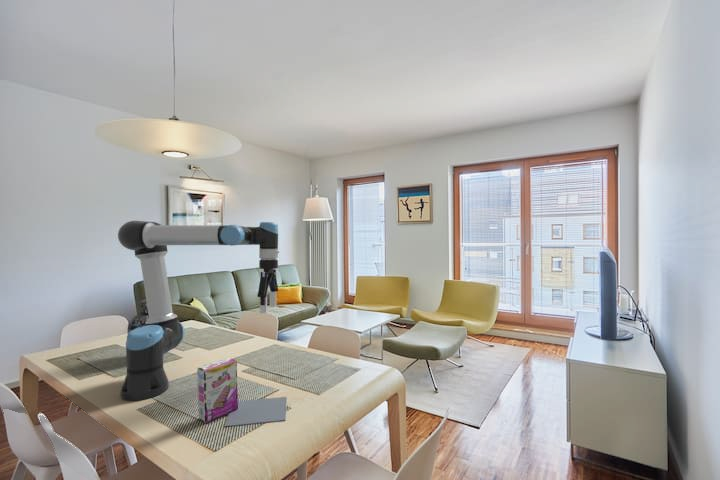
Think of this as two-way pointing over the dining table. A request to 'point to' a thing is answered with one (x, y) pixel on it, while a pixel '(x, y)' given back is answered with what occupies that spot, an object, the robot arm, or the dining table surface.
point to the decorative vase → (139, 317)
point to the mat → (258, 412)
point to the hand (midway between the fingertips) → (268, 309)
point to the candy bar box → (217, 389)
